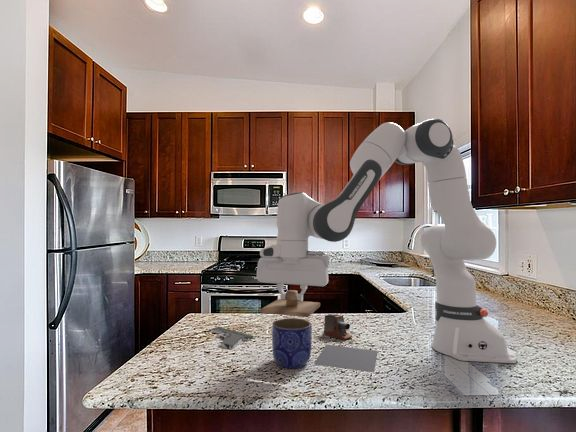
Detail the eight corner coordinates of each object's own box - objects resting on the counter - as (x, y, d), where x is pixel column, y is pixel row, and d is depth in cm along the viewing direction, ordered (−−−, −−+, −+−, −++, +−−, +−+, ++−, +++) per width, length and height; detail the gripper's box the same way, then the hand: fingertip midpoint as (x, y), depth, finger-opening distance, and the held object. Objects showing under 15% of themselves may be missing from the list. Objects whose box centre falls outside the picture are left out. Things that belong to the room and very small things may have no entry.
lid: (320, 306, 97) (320, 288, 97) (308, 317, 85) (308, 297, 85) (278, 302, 101) (278, 285, 101) (260, 312, 89) (261, 293, 89)
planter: (266, 359, 95) (266, 320, 96) (301, 354, 99) (301, 316, 100) (280, 375, 85) (280, 331, 86) (318, 368, 89) (318, 326, 90)
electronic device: (345, 342, 110) (344, 319, 110) (322, 335, 117) (322, 314, 117) (353, 339, 113) (352, 317, 113) (330, 333, 120) (330, 311, 120)
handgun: (192, 339, 114) (218, 330, 124) (231, 351, 103) (257, 340, 113) (192, 334, 114) (218, 326, 124) (231, 345, 103) (257, 335, 113)
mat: (377, 352, 101) (377, 350, 102) (374, 373, 86) (374, 372, 86) (325, 345, 107) (325, 344, 107) (313, 365, 91) (313, 364, 91)
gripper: (331, 250, 93) (331, 300, 93) (263, 248, 100) (262, 295, 99) (326, 252, 87) (326, 305, 87) (254, 250, 94) (253, 299, 93)
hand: (291, 300), depth 93 cm, fingers closed on lid, 3 cm apart
